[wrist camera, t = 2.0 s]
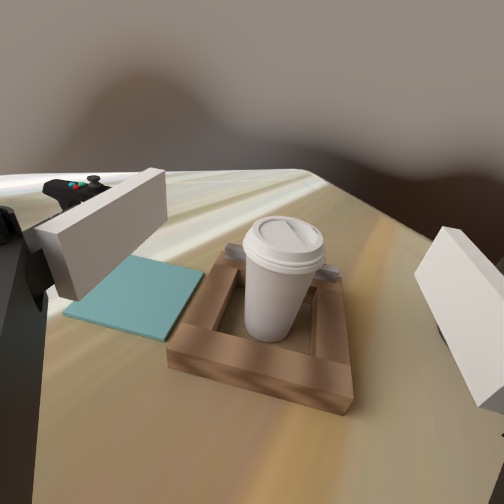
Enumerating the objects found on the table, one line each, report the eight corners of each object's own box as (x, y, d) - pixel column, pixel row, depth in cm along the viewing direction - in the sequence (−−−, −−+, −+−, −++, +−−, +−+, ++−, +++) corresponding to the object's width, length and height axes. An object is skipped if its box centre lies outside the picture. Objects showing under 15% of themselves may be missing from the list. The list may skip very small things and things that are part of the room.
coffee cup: (303, 358, 34) (338, 264, 26) (228, 347, 34) (239, 249, 26) (298, 304, 42) (324, 219, 34) (237, 295, 42) (248, 207, 34)
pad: (203, 274, 45) (203, 272, 45) (164, 342, 34) (163, 339, 33) (126, 256, 47) (126, 253, 46) (63, 315, 35) (62, 311, 35)
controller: (111, 233, 52) (101, 183, 46) (49, 223, 52) (31, 172, 47) (122, 223, 56) (114, 175, 50) (64, 213, 56) (50, 165, 50)
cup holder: (334, 293, 45) (345, 267, 42) (343, 416, 29) (360, 388, 26) (220, 267, 48) (222, 240, 44) (168, 367, 31) (165, 336, 28)
